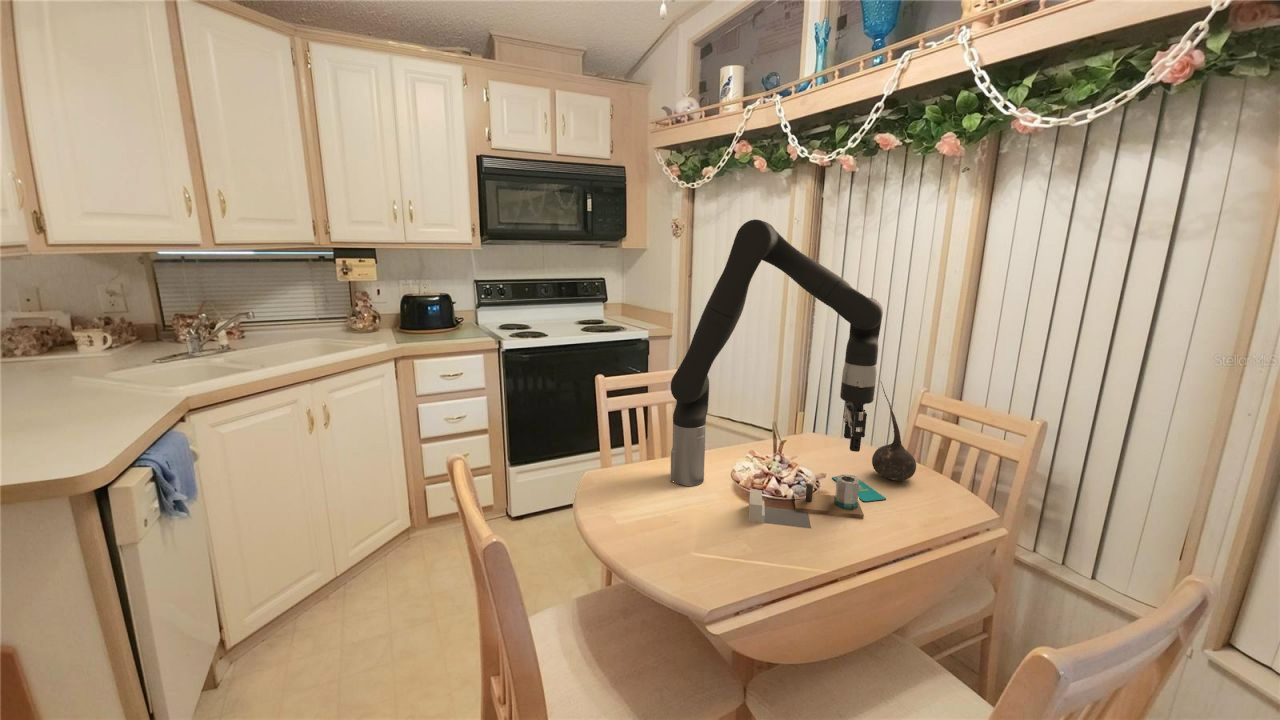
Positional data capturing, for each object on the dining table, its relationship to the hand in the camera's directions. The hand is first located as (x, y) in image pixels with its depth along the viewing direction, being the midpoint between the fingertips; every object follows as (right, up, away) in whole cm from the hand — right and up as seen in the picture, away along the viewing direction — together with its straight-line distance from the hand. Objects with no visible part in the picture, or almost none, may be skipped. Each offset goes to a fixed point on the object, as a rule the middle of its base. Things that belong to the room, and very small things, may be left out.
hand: (851, 444), depth 126 cm
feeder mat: (-18, -18, 0) cm, 26 cm away
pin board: (-4, -17, +5) cm, 18 cm away
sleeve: (0, -16, +3) cm, 16 cm away
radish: (+20, -14, +22) cm, 33 cm away
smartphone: (+8, -15, +16) cm, 24 cm away
